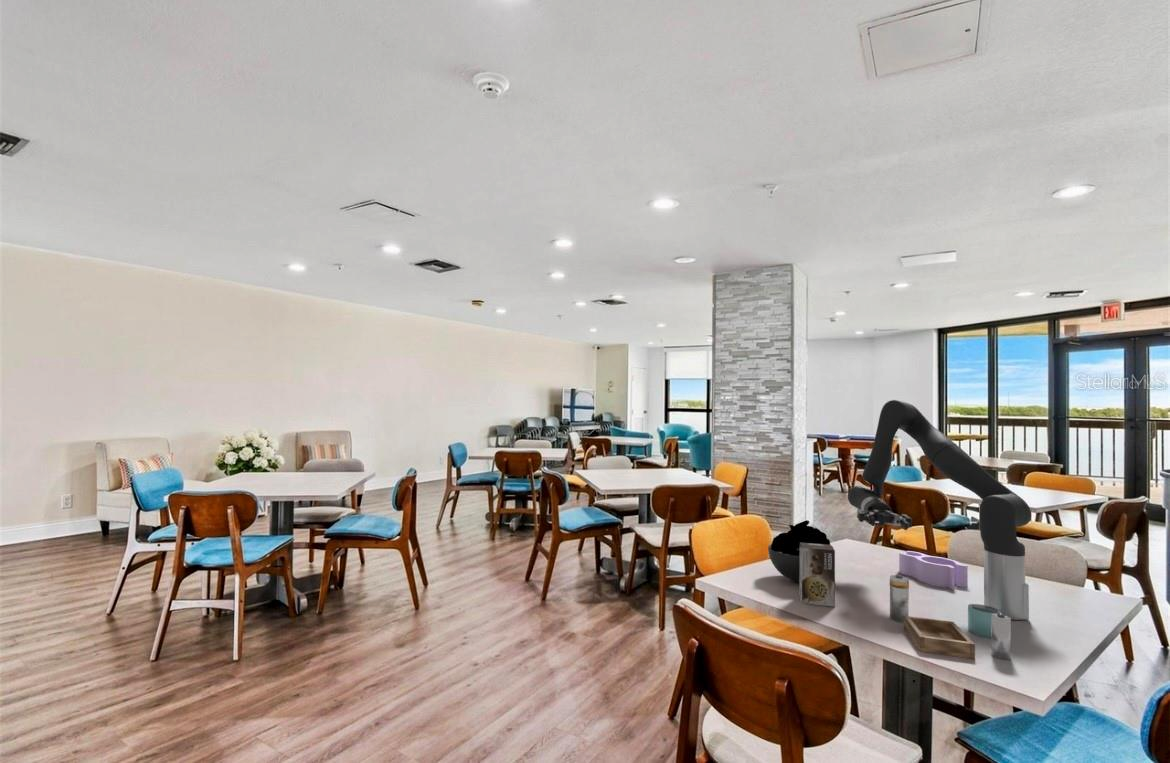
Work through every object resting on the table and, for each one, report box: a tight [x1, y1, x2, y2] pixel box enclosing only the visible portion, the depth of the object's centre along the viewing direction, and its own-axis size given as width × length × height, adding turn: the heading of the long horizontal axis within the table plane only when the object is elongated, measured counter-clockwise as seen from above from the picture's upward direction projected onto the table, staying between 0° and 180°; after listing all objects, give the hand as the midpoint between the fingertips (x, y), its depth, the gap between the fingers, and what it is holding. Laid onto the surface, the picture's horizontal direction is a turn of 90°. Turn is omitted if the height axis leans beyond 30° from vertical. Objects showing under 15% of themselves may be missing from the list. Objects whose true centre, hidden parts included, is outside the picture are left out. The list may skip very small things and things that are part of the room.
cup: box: [967, 603, 1002, 639], centre depth 140 cm, size 7×7×6 cm
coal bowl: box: [767, 519, 831, 583], centre depth 178 cm, size 20×20×19 cm
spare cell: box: [990, 613, 1012, 661], centre depth 126 cm, size 4×4×10 cm
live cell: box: [889, 574, 910, 623], centre depth 147 cm, size 4×4×12 cm
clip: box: [898, 550, 969, 590], centre depth 185 cm, size 20×12×7 cm, turn 23°
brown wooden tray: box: [903, 615, 976, 660], centre depth 132 cm, size 11×14×3 cm
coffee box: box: [798, 542, 836, 608], centre depth 159 cm, size 9×6×16 cm
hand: (889, 524), depth 159 cm, fingers open, 8 cm apart
